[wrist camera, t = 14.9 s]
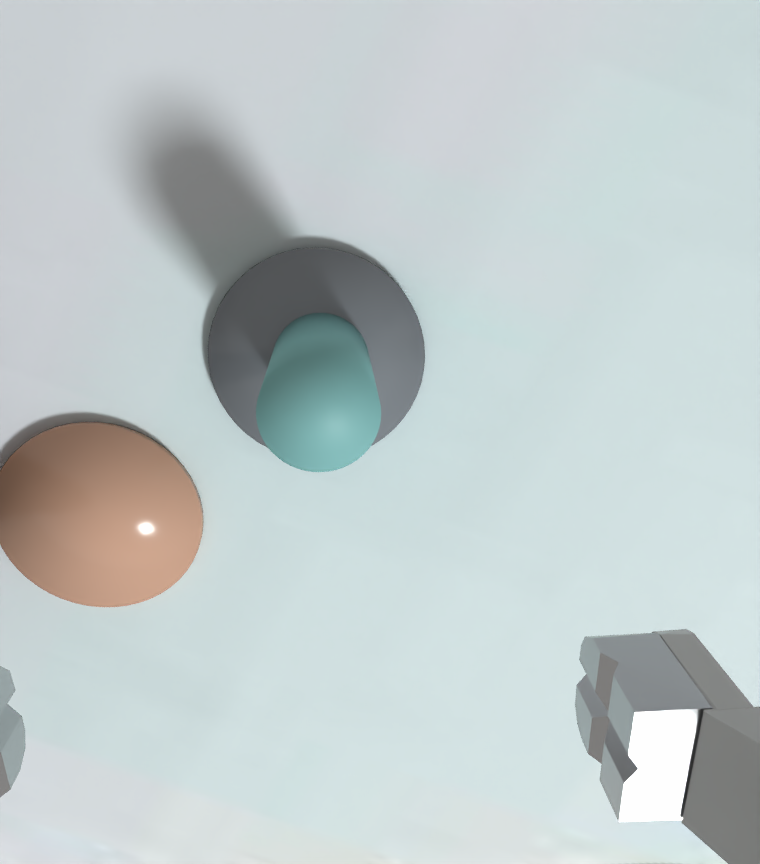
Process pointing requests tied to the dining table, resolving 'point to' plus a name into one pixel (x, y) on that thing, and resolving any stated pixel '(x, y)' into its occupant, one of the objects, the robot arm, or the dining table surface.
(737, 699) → the robot arm
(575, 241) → the dining table surface
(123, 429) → the tan round disc
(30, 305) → the dining table surface
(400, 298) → the grey flat disc
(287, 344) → the marker peg
